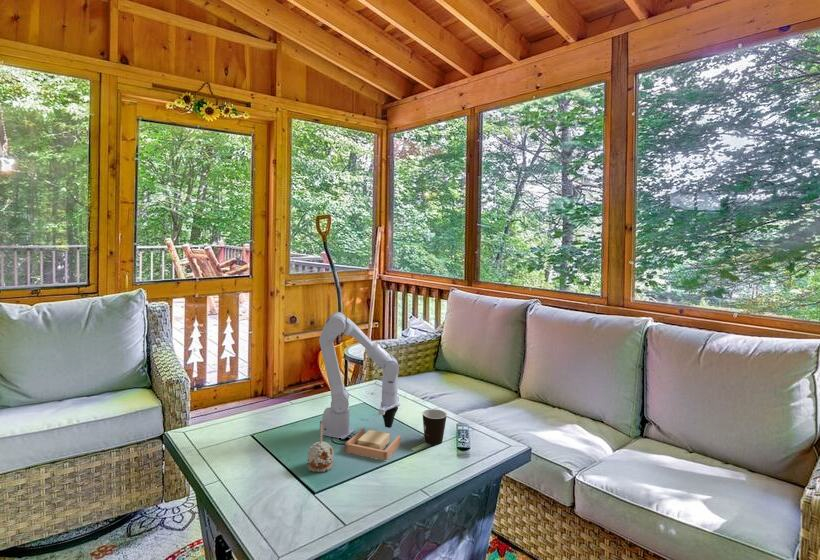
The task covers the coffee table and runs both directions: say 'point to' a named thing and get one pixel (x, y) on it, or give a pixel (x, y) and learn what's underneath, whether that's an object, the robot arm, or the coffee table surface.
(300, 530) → the coffee table surface
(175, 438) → the coffee table surface
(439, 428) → the coffee mug
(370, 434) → the tan wooden block
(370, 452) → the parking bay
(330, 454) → the decorative ornament
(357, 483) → the coffee table surface
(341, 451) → the coffee table surface
